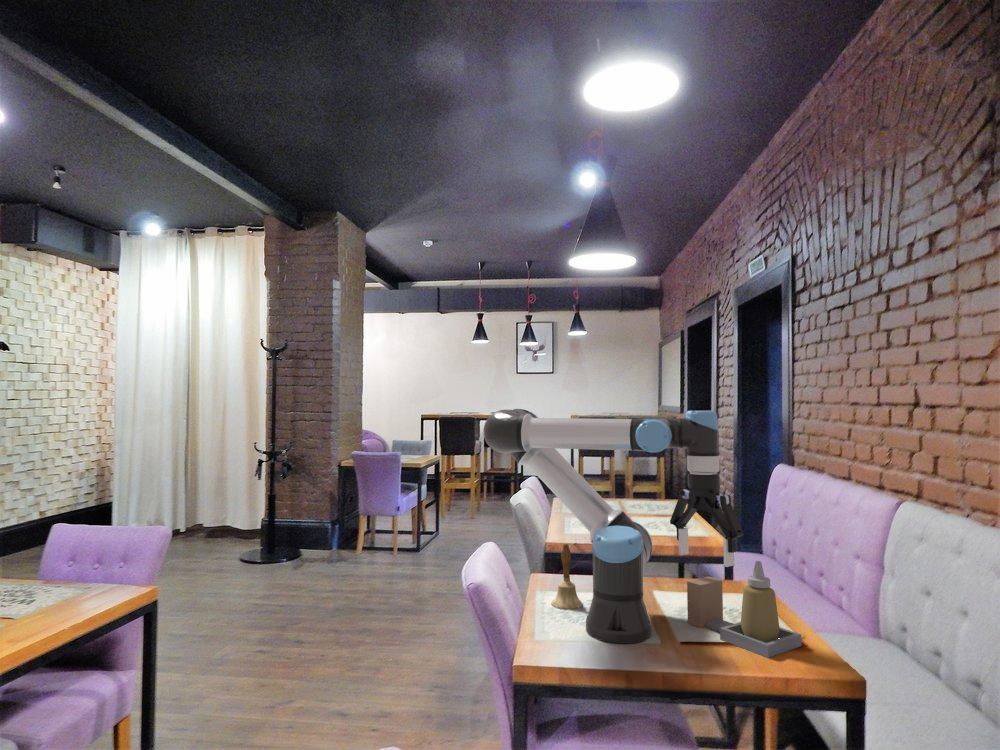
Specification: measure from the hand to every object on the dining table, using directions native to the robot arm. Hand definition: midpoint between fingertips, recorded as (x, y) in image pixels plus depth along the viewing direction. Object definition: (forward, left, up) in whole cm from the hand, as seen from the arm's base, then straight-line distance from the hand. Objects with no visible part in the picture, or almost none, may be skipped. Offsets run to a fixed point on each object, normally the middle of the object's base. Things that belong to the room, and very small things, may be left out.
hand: (705, 560), depth 148 cm
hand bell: (-29, -20, -16) cm, 39 cm away
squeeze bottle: (+15, 0, -15) cm, 21 cm away
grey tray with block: (+9, 0, -15) cm, 18 cm away
